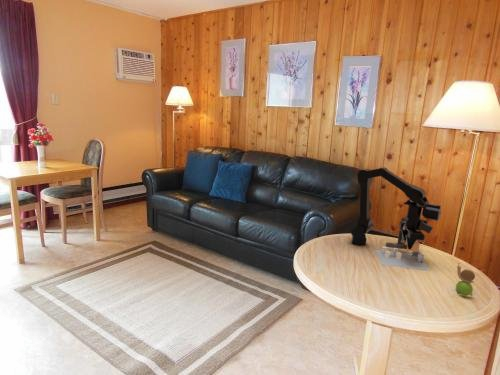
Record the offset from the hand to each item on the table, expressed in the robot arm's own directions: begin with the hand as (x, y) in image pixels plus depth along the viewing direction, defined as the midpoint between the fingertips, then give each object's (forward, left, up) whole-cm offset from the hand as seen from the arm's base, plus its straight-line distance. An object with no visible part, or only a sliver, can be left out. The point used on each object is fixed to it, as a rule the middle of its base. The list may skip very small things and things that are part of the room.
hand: (408, 247), depth 158 cm
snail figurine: (+13, -28, -7) cm, 31 cm away
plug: (-3, 0, -1) cm, 3 cm away
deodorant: (+4, +18, -7) cm, 19 cm away
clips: (-7, 0, -5) cm, 9 cm away
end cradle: (+5, 0, -5) cm, 7 cm away
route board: (-3, -3, -6) cm, 8 cm away
